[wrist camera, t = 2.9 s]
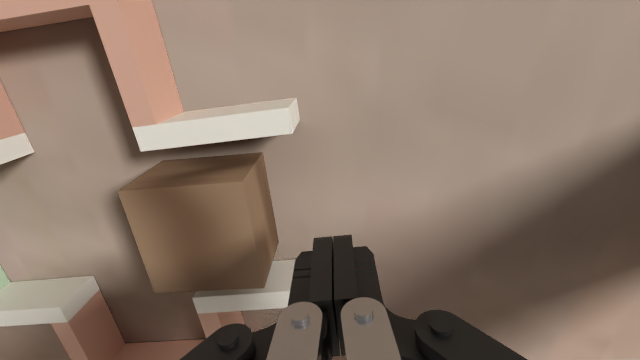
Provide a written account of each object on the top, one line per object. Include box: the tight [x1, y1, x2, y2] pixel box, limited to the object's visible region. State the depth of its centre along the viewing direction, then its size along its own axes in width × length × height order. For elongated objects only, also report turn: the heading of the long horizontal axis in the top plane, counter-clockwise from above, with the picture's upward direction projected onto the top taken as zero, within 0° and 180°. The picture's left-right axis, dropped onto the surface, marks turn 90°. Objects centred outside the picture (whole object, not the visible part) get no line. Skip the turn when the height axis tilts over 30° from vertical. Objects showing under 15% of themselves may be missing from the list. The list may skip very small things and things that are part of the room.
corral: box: [0, 0, 300, 360], centre depth 20 cm, size 24×24×3 cm
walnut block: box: [118, 152, 279, 293], centre depth 19 cm, size 6×6×4 cm
